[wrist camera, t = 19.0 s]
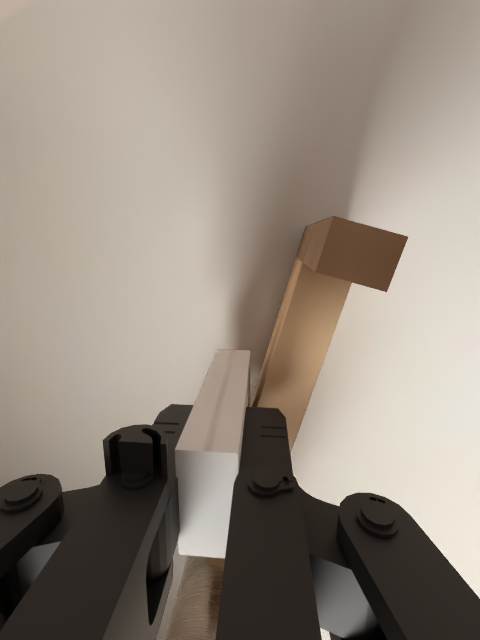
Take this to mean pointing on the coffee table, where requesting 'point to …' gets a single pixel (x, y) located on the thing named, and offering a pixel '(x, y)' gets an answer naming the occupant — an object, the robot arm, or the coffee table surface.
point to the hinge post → (197, 601)
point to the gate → (319, 310)
